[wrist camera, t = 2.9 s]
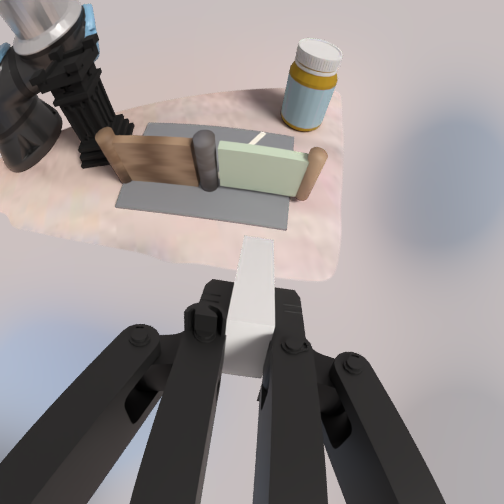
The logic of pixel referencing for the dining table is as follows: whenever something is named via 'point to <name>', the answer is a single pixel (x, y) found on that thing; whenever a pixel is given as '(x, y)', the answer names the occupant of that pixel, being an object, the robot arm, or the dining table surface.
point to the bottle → (310, 84)
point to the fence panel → (269, 168)
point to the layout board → (223, 198)
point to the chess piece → (81, 97)
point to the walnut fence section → (162, 158)
